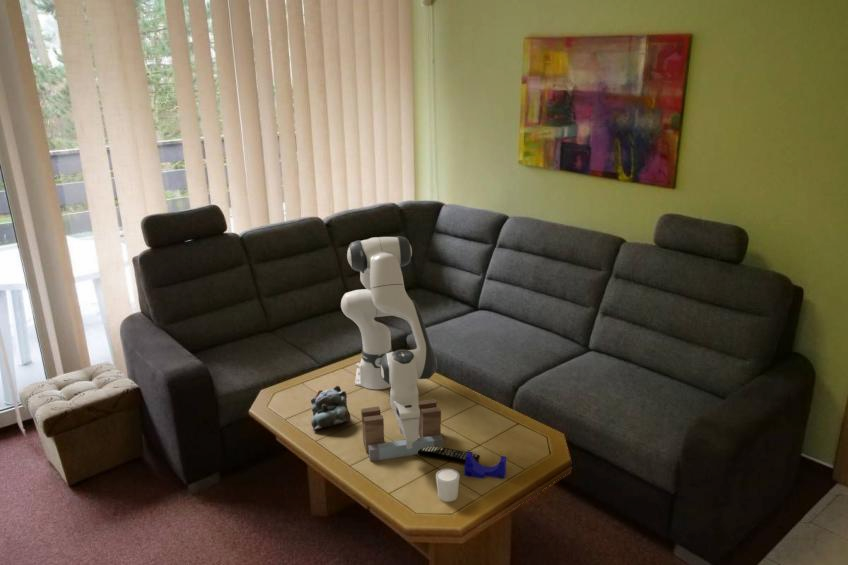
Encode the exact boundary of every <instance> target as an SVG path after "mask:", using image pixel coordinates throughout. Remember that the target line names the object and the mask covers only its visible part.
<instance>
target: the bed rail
mask: <svg viewBox="0 0 848 565" xmlns="http://www.w3.org/2000/svg"><path fill="white" fill-rule="evenodd" d="M426 447H441V448H443V449H444V438H443V436H442V434H441V435H435V436H428V437H421V438H420V437H418V439H417V441H415V442H413V443H412V448H411V449H407V448H406V440H405V439H403V440H401V439H400V440H395V441H388V442H384V443H381V444H374V445H368V449H369V453H368V458H369V462H374V461H382V460H388V459H393V458H401V457H407V456H408V457H409V456H415V455H418V454H417V453H418V451H419V450H420V449H422V448H426ZM414 454H415V455H414Z"/></svg>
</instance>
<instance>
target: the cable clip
mask: <svg viewBox="0 0 848 565" xmlns="http://www.w3.org/2000/svg"><path fill="white" fill-rule="evenodd" d="M464 460H465V465H464V469H463V470H464V475H463V476H464V477H471V478H475V479H476V478H477V479H485V477H491V478H497V479H505V478H506V474H507V456H504V455H501V456H500V459H499V462H498V463H497V464H495V465H492V466H485V465H483V464H481V463H479V462H478V461H477V460H476V458H474V455H473V451H471V450H470V451H469V450H467V451H466V455H465V458H464Z"/></svg>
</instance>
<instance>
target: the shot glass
mask: <svg viewBox="0 0 848 565" xmlns="http://www.w3.org/2000/svg"><path fill="white" fill-rule="evenodd" d="M435 481H436V488H437V490H436V491H437V497H438V499H439V500H441V501H442V502H446V503H450V502H454V501H456V500H457V498H458V494H459V486H460V485H459V484H460V473H459V471H457V470H455V469H452V468H442V469H440V470H438V471H437V472H436V473H435Z"/></svg>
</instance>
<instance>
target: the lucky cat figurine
mask: <svg viewBox="0 0 848 565" xmlns="http://www.w3.org/2000/svg"><path fill="white" fill-rule="evenodd" d="M347 398H348V396H347V391H345V390H342V389H341V387H340V385H336V386H335V387H334V388H328V389H326V390H322V389H319V390H318V392H317V394H316V395H315V396H312V398H310V403H311V411H312V415H313V417H312V418H311V420H310V424H311V427H312V428H313V429H312V430H313V431H317V430H320V429H323V428H326V427H331V426H334V425H338V424H342V423H344V422H345V423H346V422H350V421H351V420H352V418H351V413H350V411H349V409H348V405H347V404H348V402H347V400H348V399H347Z"/></svg>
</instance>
